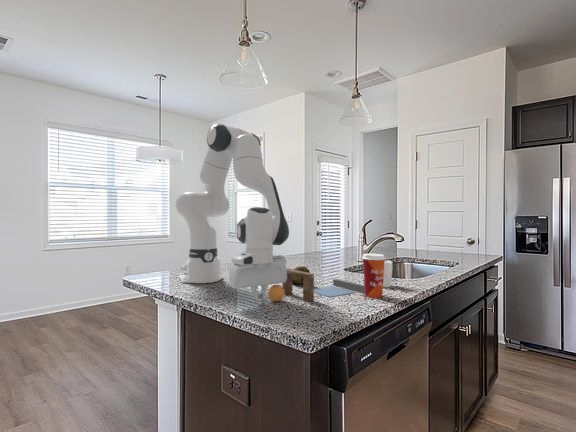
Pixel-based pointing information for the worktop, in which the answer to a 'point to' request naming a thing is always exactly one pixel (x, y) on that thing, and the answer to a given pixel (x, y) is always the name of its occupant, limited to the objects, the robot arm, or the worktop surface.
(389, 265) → the white cup
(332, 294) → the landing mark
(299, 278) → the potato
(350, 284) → the grey long bar
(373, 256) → the coffee cup
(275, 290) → the ball
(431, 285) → the worktop surface
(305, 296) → the bridge
